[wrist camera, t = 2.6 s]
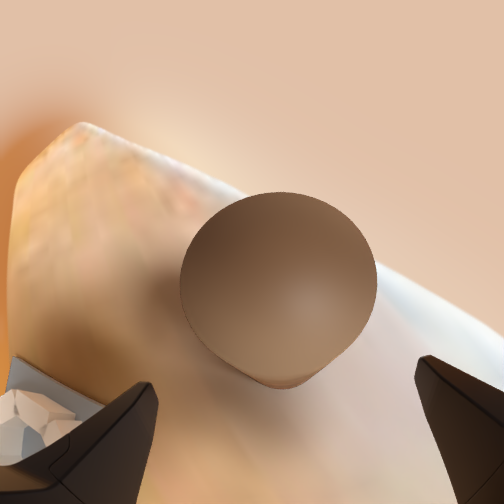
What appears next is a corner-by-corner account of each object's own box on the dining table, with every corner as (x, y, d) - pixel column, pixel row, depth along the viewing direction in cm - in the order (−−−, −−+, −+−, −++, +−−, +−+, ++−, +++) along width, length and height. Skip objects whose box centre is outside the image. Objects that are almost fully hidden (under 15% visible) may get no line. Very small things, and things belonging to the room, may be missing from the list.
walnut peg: (314, 394, 17) (368, 387, 6) (236, 381, 18) (156, 349, 7) (326, 319, 19) (376, 204, 8) (252, 308, 20) (209, 185, 9)
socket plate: (120, 561, 11) (95, 578, 7) (4, 480, 13) (-24, 481, 10) (144, 421, 17) (114, 423, 13) (20, 358, 19) (-11, 347, 16)
